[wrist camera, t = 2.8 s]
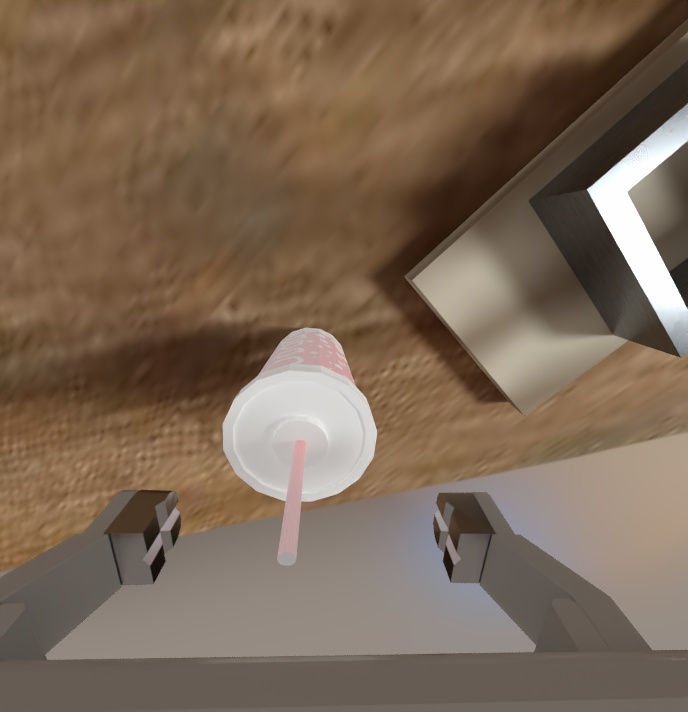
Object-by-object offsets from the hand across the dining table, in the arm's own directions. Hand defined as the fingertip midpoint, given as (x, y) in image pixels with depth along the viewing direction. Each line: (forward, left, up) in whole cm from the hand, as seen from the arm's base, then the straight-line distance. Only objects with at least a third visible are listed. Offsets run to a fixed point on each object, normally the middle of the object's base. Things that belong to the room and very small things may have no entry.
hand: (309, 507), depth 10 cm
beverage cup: (-1, 0, -12) cm, 12 cm away
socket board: (+5, +18, -12) cm, 22 cm away
